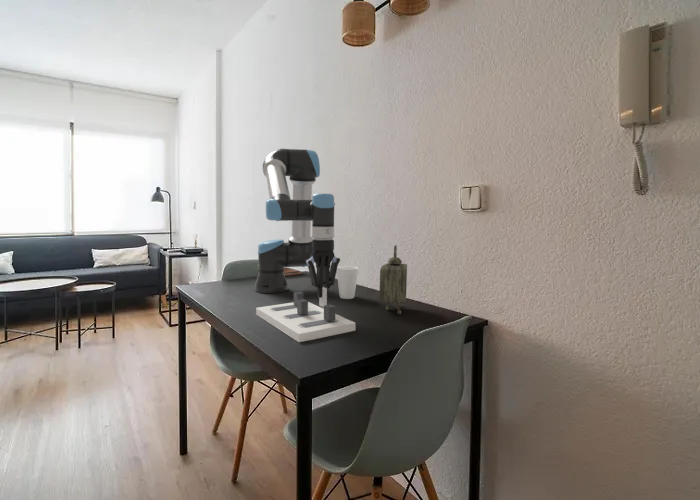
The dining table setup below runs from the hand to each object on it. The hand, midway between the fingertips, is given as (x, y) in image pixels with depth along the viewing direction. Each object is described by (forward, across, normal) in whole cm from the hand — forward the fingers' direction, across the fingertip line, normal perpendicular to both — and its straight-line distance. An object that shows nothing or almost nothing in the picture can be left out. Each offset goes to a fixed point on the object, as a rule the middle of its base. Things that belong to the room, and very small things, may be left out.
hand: (322, 305), depth 134 cm
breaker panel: (+5, -8, 0) cm, 9 cm away
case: (+5, +25, +93) cm, 96 cm away
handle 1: (+2, -4, +11) cm, 12 cm away
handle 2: (+2, -4, -11) cm, 12 cm away
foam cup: (+5, +25, +22) cm, 34 cm away
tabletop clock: (+5, +28, -5) cm, 29 cm away
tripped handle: (+2, -8, 0) cm, 8 cm away
